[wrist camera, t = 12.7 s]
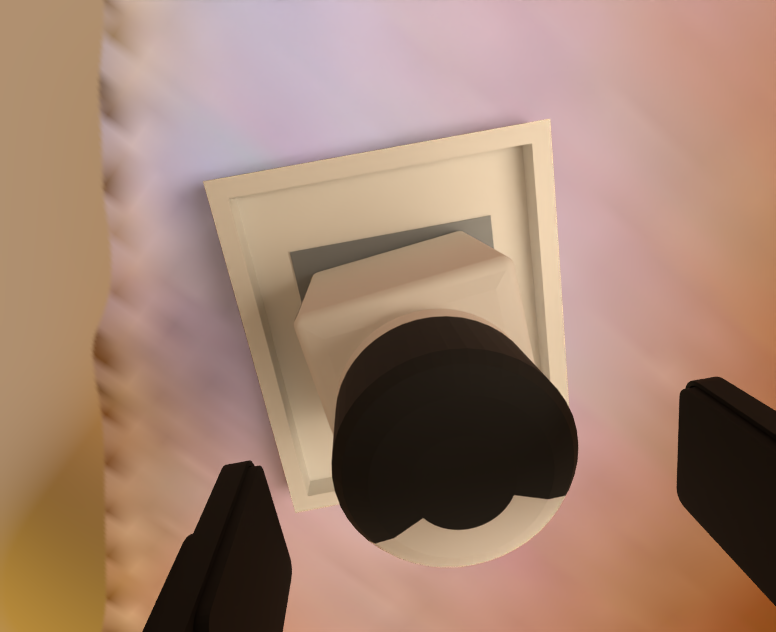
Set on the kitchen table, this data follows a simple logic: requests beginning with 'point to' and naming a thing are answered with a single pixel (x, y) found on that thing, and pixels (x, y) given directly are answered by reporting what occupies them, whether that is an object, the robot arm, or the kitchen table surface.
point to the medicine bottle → (436, 402)
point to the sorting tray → (375, 236)
